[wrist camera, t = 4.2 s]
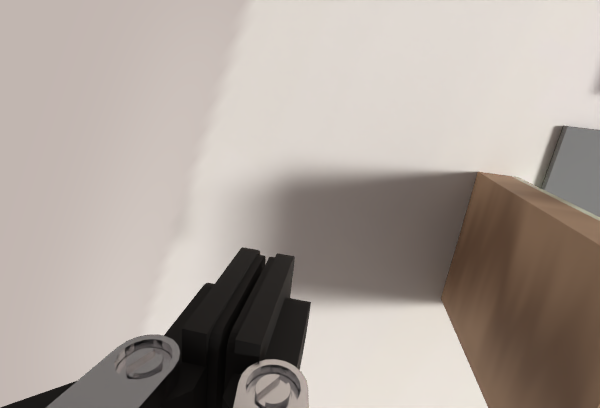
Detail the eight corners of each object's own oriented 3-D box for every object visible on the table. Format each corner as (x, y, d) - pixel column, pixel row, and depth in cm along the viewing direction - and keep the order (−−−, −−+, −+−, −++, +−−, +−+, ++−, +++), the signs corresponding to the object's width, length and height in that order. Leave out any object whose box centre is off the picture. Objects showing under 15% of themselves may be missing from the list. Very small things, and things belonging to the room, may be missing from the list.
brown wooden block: (477, 171, 16) (663, 283, 6) (518, 177, 16) (771, 301, 6) (440, 298, 18) (537, 520, 9) (475, 304, 18) (613, 539, 8)
